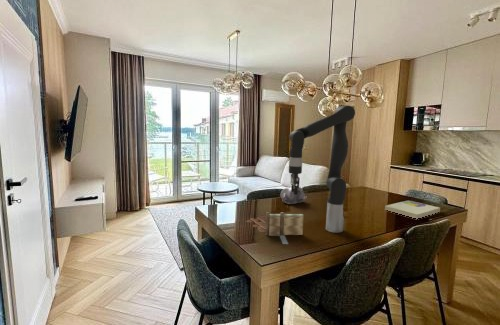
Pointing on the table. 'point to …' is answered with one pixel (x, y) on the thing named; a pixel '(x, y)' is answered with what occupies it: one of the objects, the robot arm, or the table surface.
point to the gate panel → (293, 224)
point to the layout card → (281, 238)
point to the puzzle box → (412, 209)
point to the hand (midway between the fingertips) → (294, 192)
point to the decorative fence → (258, 223)
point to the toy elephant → (292, 196)
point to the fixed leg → (274, 224)
